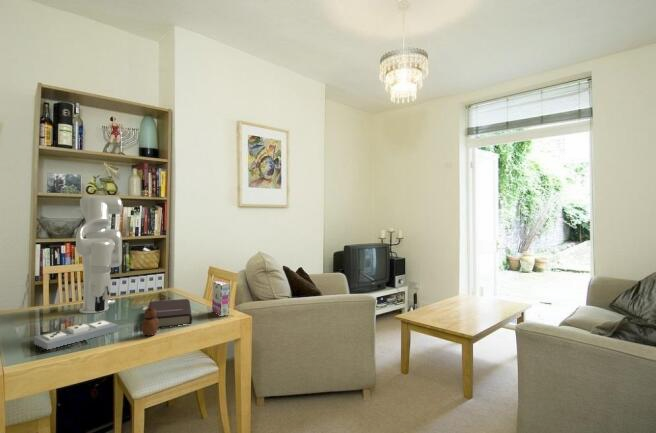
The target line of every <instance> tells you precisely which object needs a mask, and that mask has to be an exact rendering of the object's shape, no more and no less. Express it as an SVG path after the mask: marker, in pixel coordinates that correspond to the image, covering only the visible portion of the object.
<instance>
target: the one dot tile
mask: <svg viewBox="0 0 656 433" xmlns="http://www.w3.org/2000/svg"><path fill="white" fill-rule="evenodd" d="M99 321H100V320H99ZM95 322H96V321H95ZM91 323H92V322H91ZM107 325H110V323H108V322H105V321H100V322H96V323H92V324H89V326H90V327H93V328H99V327H103V326H107Z"/></svg>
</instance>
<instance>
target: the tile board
mask: <svg viewBox="0 0 656 433" xmlns="http://www.w3.org/2000/svg"><path fill="white" fill-rule="evenodd" d="M100 321H105V322H108V323H110V325H107V326H103V327H99V328H93V327H90V326H89V324H92V323H96V322H100ZM85 324H86V325H88V326H89V330H88V331H84V332H80V333H76V334H71V333H69V332H67V330H68V327H67V328H64V329H59V330H56V331H52V332H47V333H44V334H40V335H39V334H38V335H35V336H33V344H34V346H36V345H37V347H38V346H39V348H40V347H42V348H44V349H47V350H48V349H52V348H56V347H60V346H63V345H67V344H71V343H75V342H79V341H83V340H86V341H88V340H87V339H90V338H93V339H95V338H94V337H97V338H99V337H98V336H100V337H102V336H101V335H104V336H106V335H105V334H107V335H110V334H109V333H111V334H113V333H112V332H115V333H117V332H116V331H119V325H118V324H116V323H114V322H111V321H108V320H106V319H101V320H96V321H93V322H88V323H85ZM59 331H61V332H63V333H65V334H67V335H66V336H64V337H61V338H57V339H53V340H49V341H48V340H46V339H44V338H43V335H47V334H51V333H55V332H59ZM90 340H91V339H90ZM83 342H84V341H83ZM79 343H80V342H79ZM75 344H76V343H75ZM42 348H41V349H42ZM44 349H43V350H44Z"/></svg>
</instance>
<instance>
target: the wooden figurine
mask: <svg viewBox="0 0 656 433" xmlns="http://www.w3.org/2000/svg"><path fill="white" fill-rule="evenodd" d="M151 302H152V301H149V303H150V309H148V308H147V309H146V310H144V319H143V321H142V323H141V331H142V334H143V336H145V335H152V334H155V333H156V334H157V332H158V330H159V329H158V326H159V321H158V318H156V317H155V316H156V315H157V311H156V309H154V308H152V303H151ZM156 334H155V335H156Z"/></svg>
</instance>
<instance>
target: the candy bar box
mask: <svg viewBox="0 0 656 433" xmlns="http://www.w3.org/2000/svg"><path fill="white" fill-rule="evenodd" d="M230 286H231V284H230V283H228V282H225V281H222V280H217V281H212V304H211V308H212V309H211V312H212V311H213V312H215V313H217V314H219V315H224V314H228V313H229V314H230V292H231V291H230V290H231V287H230ZM213 312H212V313H213ZM215 313H214V314H215Z"/></svg>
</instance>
